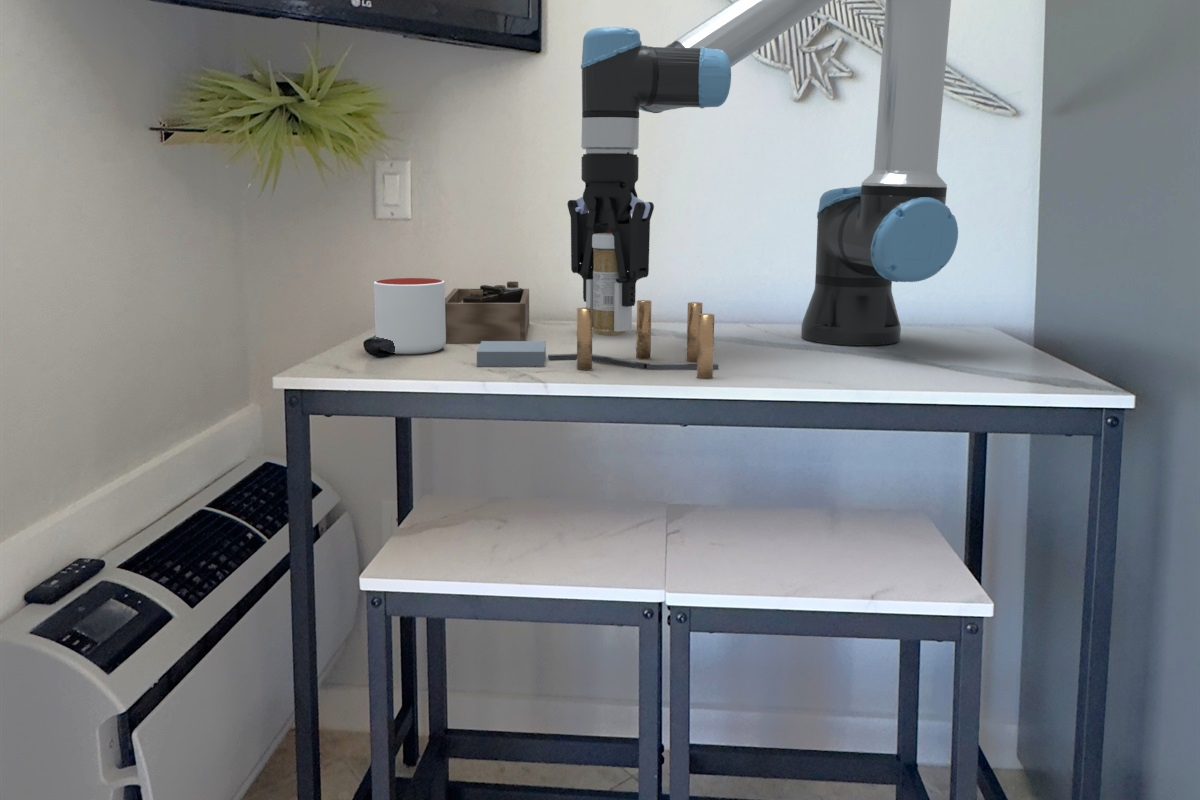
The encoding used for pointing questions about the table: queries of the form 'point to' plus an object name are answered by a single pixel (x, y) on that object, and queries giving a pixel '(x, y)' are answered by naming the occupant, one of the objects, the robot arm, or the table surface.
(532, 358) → the pad
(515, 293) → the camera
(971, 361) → the table surface
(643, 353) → the wire course
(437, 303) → the cup
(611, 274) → the sprinkles bottle
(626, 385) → the table surface
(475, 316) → the camera corral
